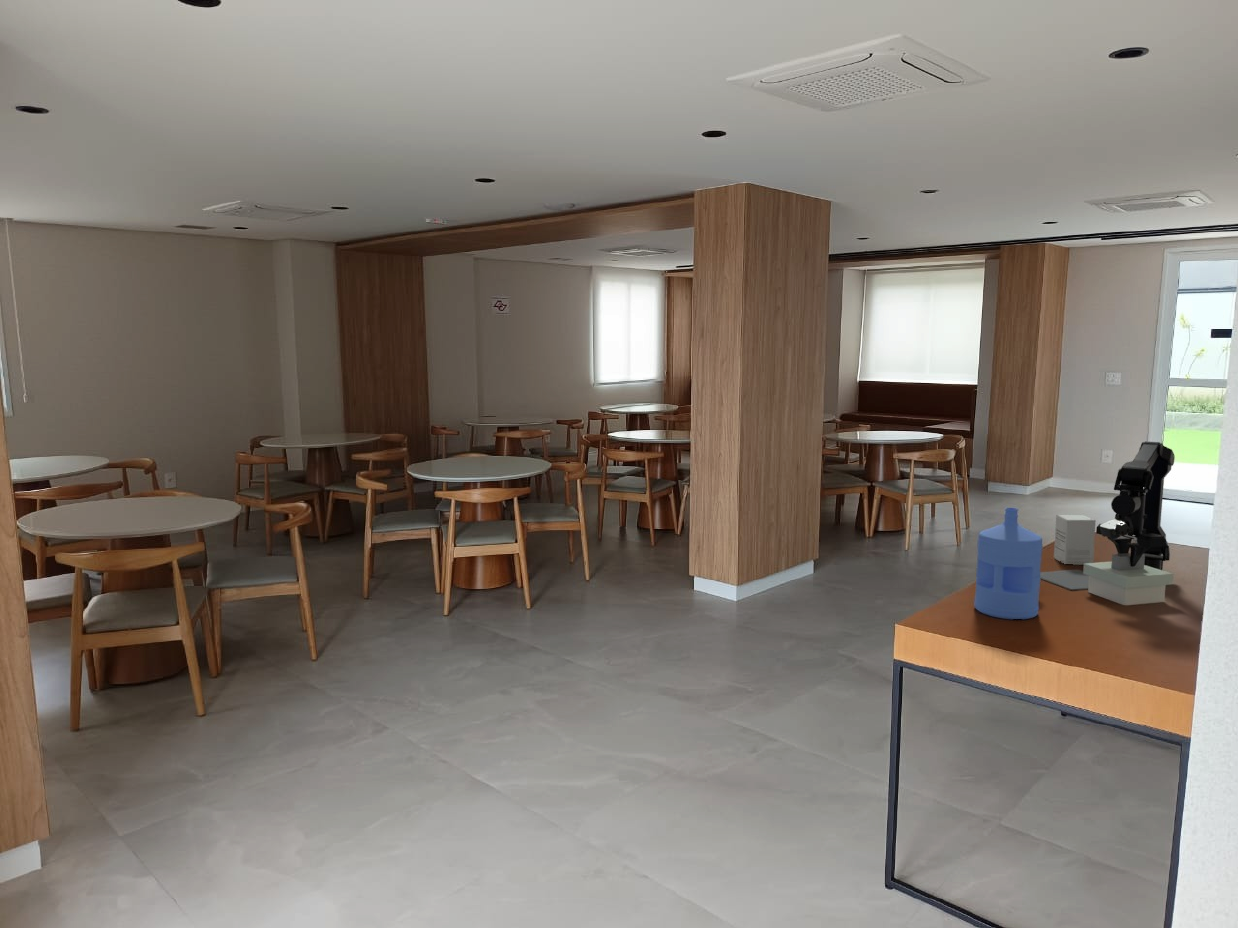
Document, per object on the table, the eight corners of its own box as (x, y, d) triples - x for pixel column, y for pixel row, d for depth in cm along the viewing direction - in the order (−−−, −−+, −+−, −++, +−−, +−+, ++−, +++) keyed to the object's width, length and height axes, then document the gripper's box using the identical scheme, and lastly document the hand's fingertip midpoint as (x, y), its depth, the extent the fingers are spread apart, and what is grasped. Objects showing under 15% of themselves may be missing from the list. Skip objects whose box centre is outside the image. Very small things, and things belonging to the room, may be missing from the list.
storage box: (1126, 588, 243) (1127, 568, 242) (1164, 601, 230) (1165, 580, 229) (1088, 592, 240) (1089, 571, 239) (1124, 605, 227) (1126, 584, 226)
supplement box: (1081, 558, 278) (1084, 514, 276) (1093, 565, 269) (1096, 519, 267) (1052, 557, 279) (1055, 514, 277) (1064, 564, 270) (1067, 519, 268)
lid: (1127, 570, 243) (1129, 546, 242) (1172, 584, 228) (1174, 559, 227) (1083, 573, 240) (1084, 549, 239) (1125, 588, 225) (1127, 562, 224)
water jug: (987, 599, 234) (993, 501, 230) (1047, 611, 223) (1053, 508, 219) (964, 611, 223) (969, 509, 219) (1025, 624, 212) (1032, 517, 208)
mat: (1077, 570, 263) (1077, 569, 263) (1123, 586, 245) (1123, 584, 245) (1028, 574, 259) (1028, 573, 259) (1071, 590, 241) (1071, 589, 241)
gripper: (1081, 505, 239) (1078, 558, 241) (1135, 518, 221) (1130, 575, 223) (1114, 503, 241) (1110, 556, 243) (1170, 516, 223) (1165, 572, 225)
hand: (1127, 564), depth 234 cm, fingers closed on lid, 3 cm apart
